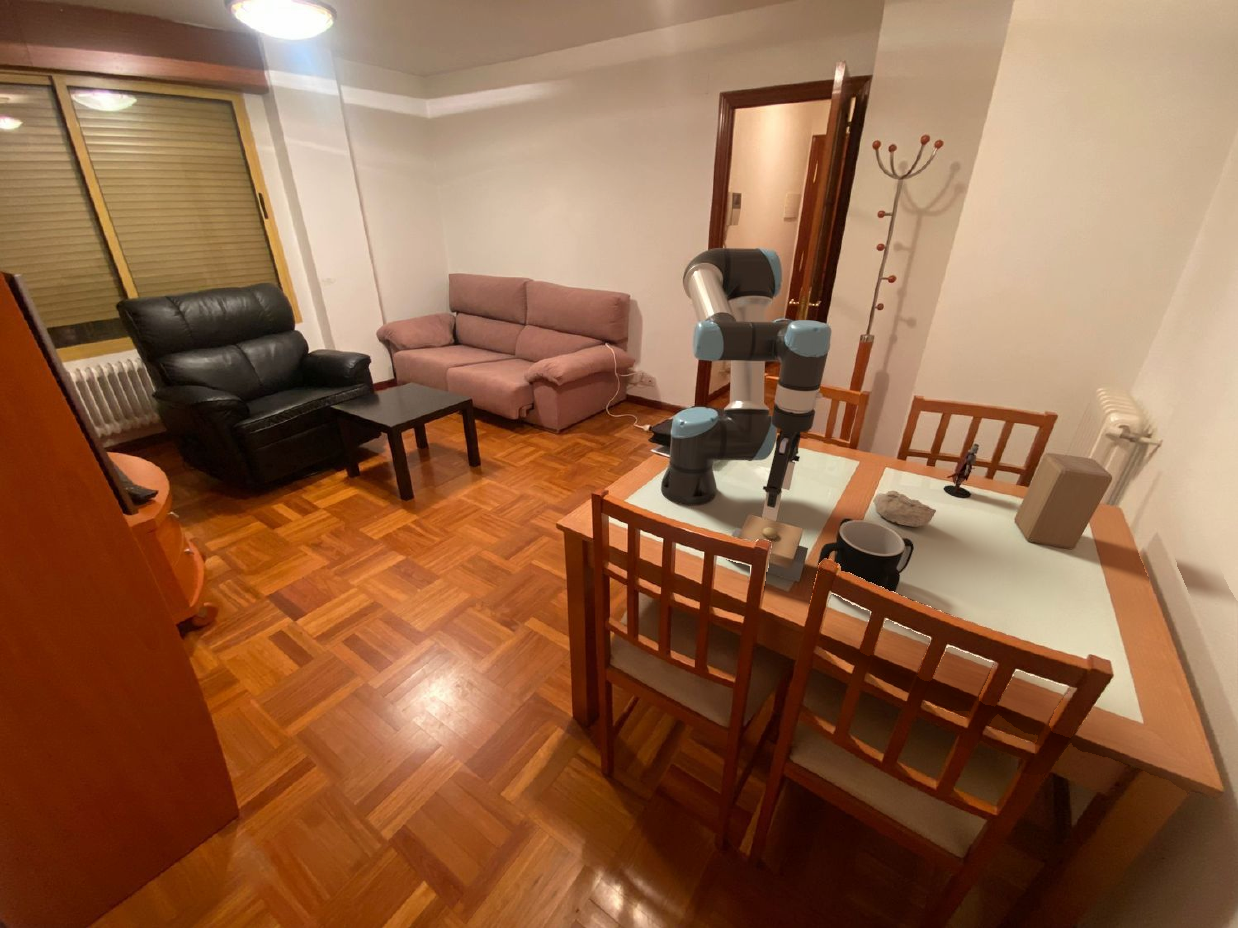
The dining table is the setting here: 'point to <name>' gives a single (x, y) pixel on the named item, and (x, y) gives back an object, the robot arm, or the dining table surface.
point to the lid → (774, 538)
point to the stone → (902, 509)
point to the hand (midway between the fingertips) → (776, 502)
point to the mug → (870, 552)
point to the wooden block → (1061, 499)
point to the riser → (783, 571)
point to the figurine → (962, 474)
